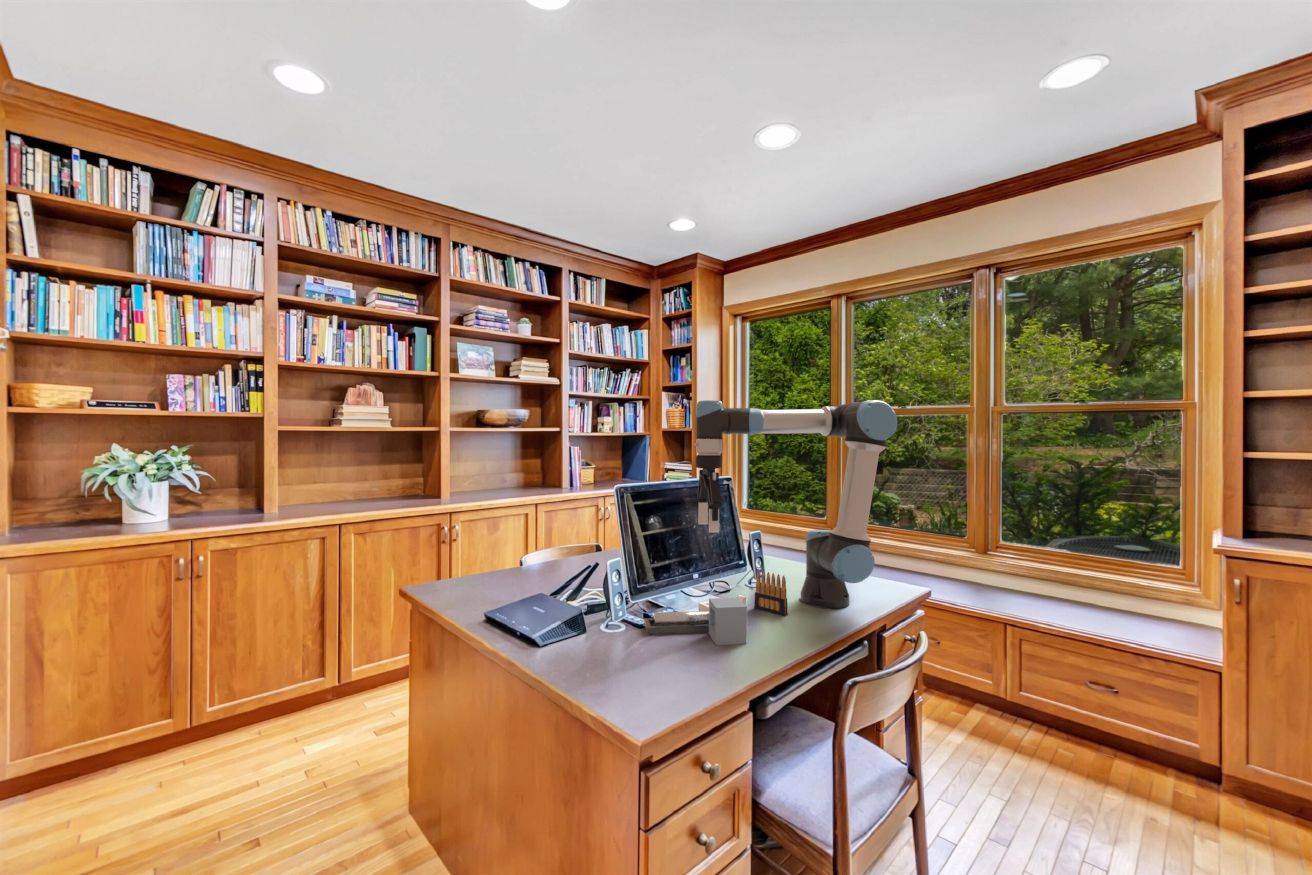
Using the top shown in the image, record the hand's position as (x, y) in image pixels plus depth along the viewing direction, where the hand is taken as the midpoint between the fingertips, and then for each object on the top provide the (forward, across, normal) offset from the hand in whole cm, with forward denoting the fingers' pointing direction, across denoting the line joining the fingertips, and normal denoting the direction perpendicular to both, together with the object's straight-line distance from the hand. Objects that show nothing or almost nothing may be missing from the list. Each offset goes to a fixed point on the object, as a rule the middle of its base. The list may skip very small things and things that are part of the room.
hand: (708, 528), depth 158 cm
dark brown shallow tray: (+27, +5, -8) cm, 28 cm away
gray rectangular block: (+27, +14, +2) cm, 30 cm away
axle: (+24, +5, -8) cm, 26 cm away
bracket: (+27, -2, +5) cm, 28 cm away
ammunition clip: (+27, -6, +21) cm, 35 cm away
